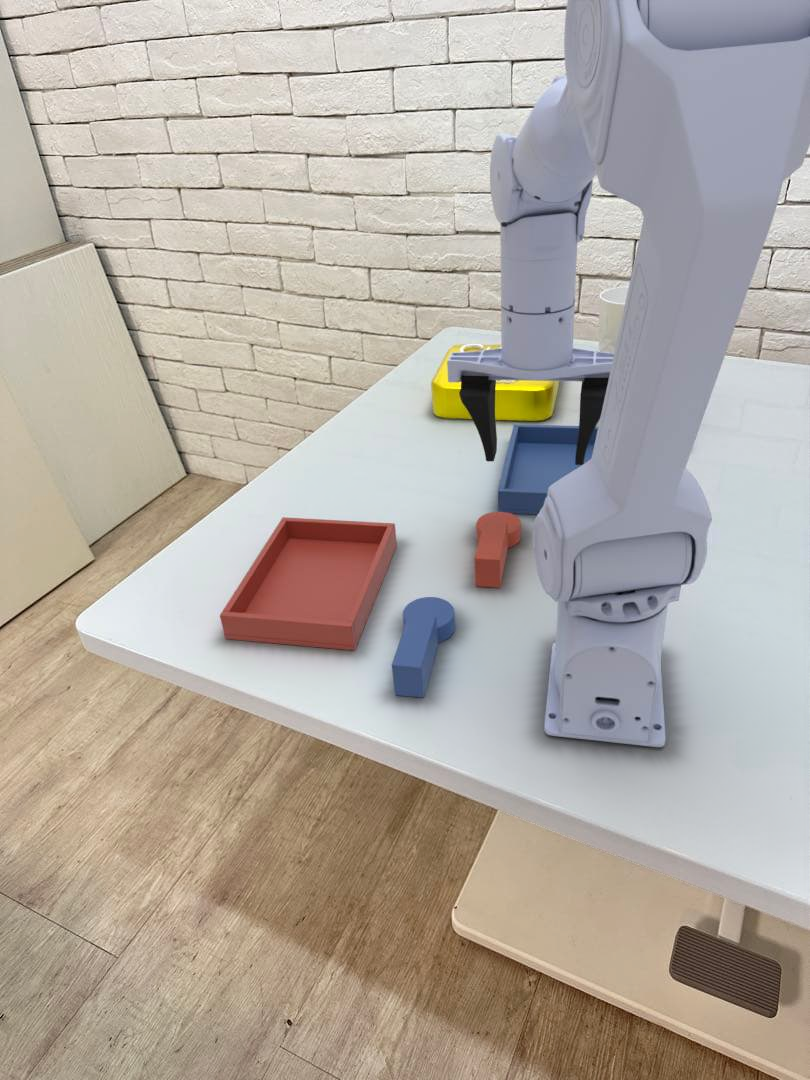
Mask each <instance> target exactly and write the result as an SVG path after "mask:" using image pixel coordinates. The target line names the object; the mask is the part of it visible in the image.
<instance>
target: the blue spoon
mask: <svg viewBox="0 0 810 1080" xmlns="http://www.w3.org/2000/svg"><path fill="white" fill-rule="evenodd" d="M402 621H403V630H402V633H401V636H400V639H399V642H398V644H397V645H398V646H397V648H396V651H395V654H394V656H393V660H392V663H391V672H392V680H393V681H392V682H393V689H394V695H395V696H401V697H412V698H422V699H424V698H425V694H426V691H427V687H428V683H429V680H430V676H431V672H432V670H433V669H432V668H433V665H434V662H435V658H436V655H437V651H438V647H439V643H442V642H444V641H446V640H448V639H450V637H452V635H453V634H454V632H455V630H456V615H455V608H454V606H453V605H452V603H450V602H449V601H448V600H446V599H443V598H440V597H437V596H436V597H435V596H426V597H425V596H424V597H420V598H416V599H414V600H412V601H411V602H409V603H408V604H406V606H405V607H404V608H403V611H402Z"/></svg>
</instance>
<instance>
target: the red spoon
mask: <svg viewBox="0 0 810 1080" xmlns="http://www.w3.org/2000/svg"><path fill="white" fill-rule="evenodd" d="M475 524H476V525H475V529H476V532H475V533H476V536H475V537H476V541H477V548H476V551H475V555H474V584H475V587H483V588H498V589H500V588H501V586H502V581H503V576H504V571H505V566H506V561H507V556H508V552H509V551H508V550H509V549H510V548H512V547H514V546H517V544H518V543H520V541H521V538H522V521H521V519H520V518H519V517H518V516H517V515H515V514H514V513H507V512H498V511H492V512H487V513H484V514H483V515H481V516H480V517H478V518H477V520H476V522H475Z"/></svg>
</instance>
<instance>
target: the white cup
mask: <svg viewBox="0 0 810 1080" xmlns="http://www.w3.org/2000/svg"><path fill="white" fill-rule="evenodd" d="M628 288H629V285H622V286H615V287H610V288H607V289H605V290H603V291H601V292H599V299H598V302H599V303H598V304H599V305H598V306H599V307H598V348H599V352H606V353H615V348H616V344H617V339H618V334H619V330H620V325H621V321H622V316H623V311H624V307H625V302H626V298H627V293H628Z"/></svg>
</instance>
